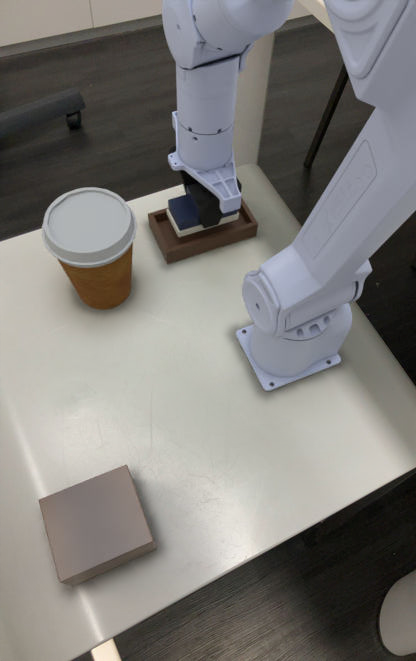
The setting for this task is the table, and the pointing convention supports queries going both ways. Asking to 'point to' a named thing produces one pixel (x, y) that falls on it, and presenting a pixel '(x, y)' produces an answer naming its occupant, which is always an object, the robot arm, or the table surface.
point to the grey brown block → (96, 526)
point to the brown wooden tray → (200, 235)
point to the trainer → (190, 215)
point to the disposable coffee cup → (93, 243)
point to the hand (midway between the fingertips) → (203, 211)
